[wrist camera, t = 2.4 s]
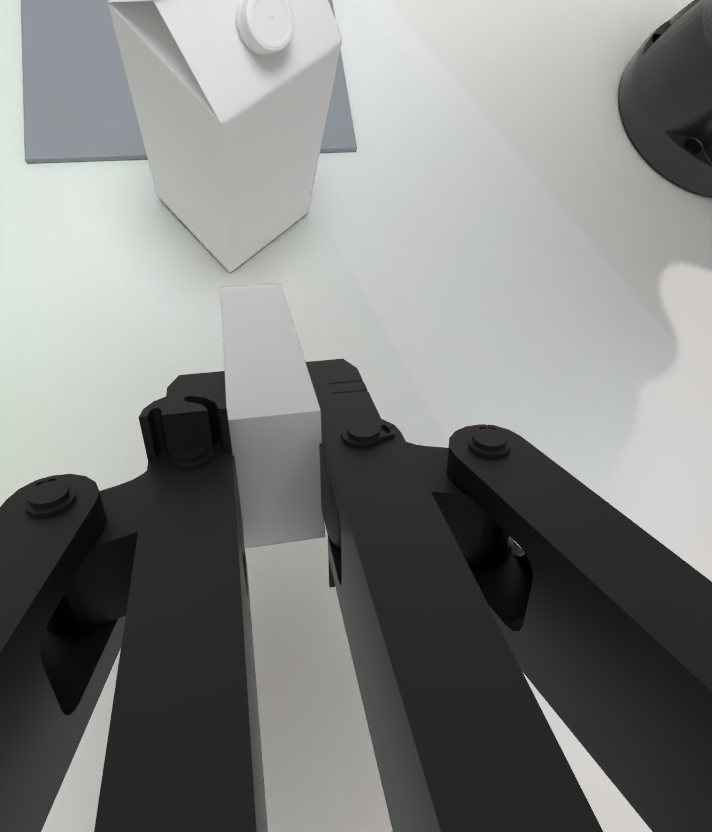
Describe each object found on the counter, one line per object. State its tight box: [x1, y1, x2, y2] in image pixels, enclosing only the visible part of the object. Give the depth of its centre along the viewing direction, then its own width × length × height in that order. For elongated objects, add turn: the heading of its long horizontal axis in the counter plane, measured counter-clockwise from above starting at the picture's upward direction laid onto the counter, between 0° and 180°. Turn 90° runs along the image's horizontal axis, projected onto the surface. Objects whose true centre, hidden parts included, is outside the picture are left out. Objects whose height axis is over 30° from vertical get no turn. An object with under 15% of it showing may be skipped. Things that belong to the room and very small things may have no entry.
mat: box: [21, 0, 357, 163], centre depth 43 cm, size 22×17×1 cm
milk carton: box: [107, 0, 342, 272], centre depth 31 cm, size 7×7×19 cm
